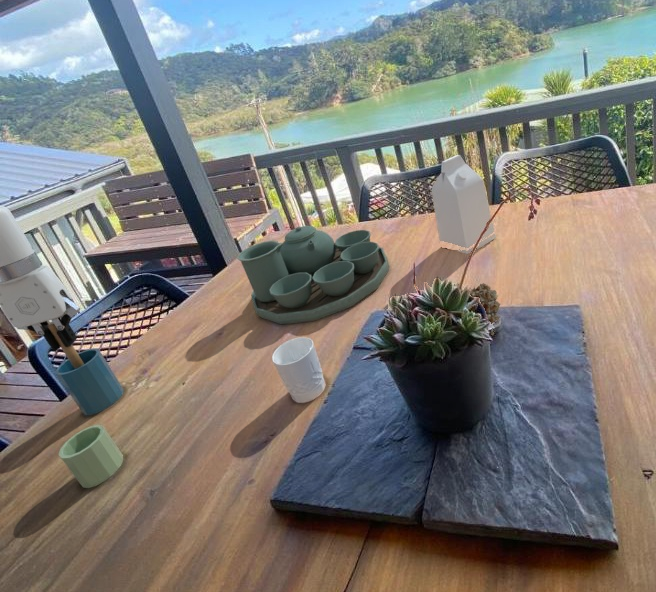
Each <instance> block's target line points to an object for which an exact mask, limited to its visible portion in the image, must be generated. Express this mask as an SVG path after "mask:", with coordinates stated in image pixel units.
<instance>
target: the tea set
mask: <svg viewBox="0 0 656 592" xmlns="http://www.w3.org/2000/svg"><path fill="white" fill-rule="evenodd" d="M236 259H237V260H238V261H240V263H241V266H242V269H243V271H244V272H245V275H246V277H247V279H248V282H249V284H250V286H251V288H252V293H251V294H250V297H251V301H252V305H253V308H254V311H255V313H256V315H257V316H258V317H259V318H262V319H265V320H267V321H270V322H272V323H276V324H279V325H288V324H296V323H298V324H299V323H306V322H307V323H308V322H313V321H314V322H315V321H318V320H321V319H323V318H326V317H329V316H332V315H334V314H336V313H340V312H341V311H345V310H347V309H350V308H352V307H353V306H355V305H356V304H358V303H359V302H361V301H362V300H363V299H365V298H366V297H368V296H369V295H370V294H371V293H373V292H375V291H376V290H377V289H379V287H380V285H381V284H382V282H383V280H384V278H385V277H386V276H387V274H388V272H390V271H389V270H390V263H389V261H388V257H387V256H386V253H385V250H384V248H383V247H381V246H380V245H379V243H377V242H375V241H371V232H370V231H369V230H366V229H356V230H353V231H349V232H347V233H345V234H342V235H340V236H339V237H338V238H336V239H335V241H334V239H333V238H332V236H331V235H330V234H329V233H327V232H326V231H323V230H319V229H316V227H315V226H313V225H304V226H296V227H295V228H294V229H292V230H289V232H287V233H286V234H285V236H284V241H283V242H280V241H278V240H267V241H261V242H259V243H256V244H253V245H251V246H249V247H246V248H244V250H242V251H241V252H240V253H238V255H237V258H236Z"/></svg>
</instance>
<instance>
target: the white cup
mask: <svg viewBox="0 0 656 592" xmlns="http://www.w3.org/2000/svg"><path fill="white" fill-rule="evenodd" d="M271 361H272V364H273V365H274V367H275V369H276V371H277V373H278V375H279V377H280V379H281V381H282V382H283V384H284V386H285V389H287V391H288V393H289V395H290V397H291V399H292V400H293V401H294V402H295V403H299V404H305V403H308V402H312V401H313V400H315V399H317V398H318V397H320V395H321V394H322V393H323V392H324V391H325V388H326V386H327V385H326V380H325V378H324V375H323V374H324V373H323V369H322V366H321V363H320V359H319V355H318V353H317V350H316V347H315V343H314V341H313V339H311V337H308V336H307V337H306V336H299V337H295V338H292V339H289V340H287V341H285V342H283V343H281V345H279V346H278V347H276V349H275V350H274V352H273V353H272V355H271Z"/></svg>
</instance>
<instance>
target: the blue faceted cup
mask: <svg viewBox="0 0 656 592" xmlns="http://www.w3.org/2000/svg"><path fill="white" fill-rule="evenodd" d="M77 353H78V355H79V356H80V358H81V359H82V361H83V363H84V364H85V365H83V366H81V367H79V368H77V369H75V368H74V367H73V365H72V364H71V362H70V361H69V359H68V358H67V359H66V360H64V361H63V362H62V363H60V365H59V366H58V367H57V368H56V370H55V374H56V376H57V378H58V379H59V381H60V382H61V383H62V385H63V386H64V388H65V390H66V391H67V392H68V394H69V395H70V396H71V398H72V400H73V401H74V402H75V404H76V405H77V408H79V410H80V411H81V412H82V414H83V415H84V416H91V415H96V414H98V413H101V412H103V411H105V410H106V409H108V408H110V407H111V406H113V405H114V404H115V403H116V402H117V401H118V400H120V398H121V397H122V396H123V394H124V388H123V386H122V384H121V383H120V381H119V379H118V378H117V376H116V375H115V373H114V371H113V370H112V368H111V366H110V365H109V363H108V362H107V360H106V359H105V357H104V355H103V354H102V352H101V350H100V349H99V348H89V349H85V350H82V351H80V352H77Z"/></svg>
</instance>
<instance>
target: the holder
mask: <svg viewBox="0 0 656 592" xmlns="http://www.w3.org/2000/svg"><path fill="white" fill-rule="evenodd" d="M58 457H59V459H60V460H61V462H62V463H63V464H64V465H65V466H66V467H67V469H68V471H69V472H70V473H71V474H72V476H73V477H74V479H75V480H76V481H77V482H78V484H79V485H80V486H81V487H82V488H84V489H89V488H94V487H96V486H99V485H100V484H102V483H104V482H105V481H108V479H110V478H111V477H112V476H113V475H115V473H116V472H117V471H118V470H119V469H120V468H121V466H122V464H123V462H124V455H123V453H122V452H121V450H120V448H119V447H118V445H117V444H116V443H115V441H114V440H113V438H112V437H111V434H109V432H108V431H107V429H106V428H105V427H104V426H103V425H101V424H94V425H93V424H92V425H91V426H87V427H85V428H83V429H81V430H80V431H78V432H77V433H74V434H73V435H72V436H71V437H70V438H69V439H67V440H66V441H65V442H64V443H63V445H62V446H61V447H60V449H59V452H58Z"/></svg>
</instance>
